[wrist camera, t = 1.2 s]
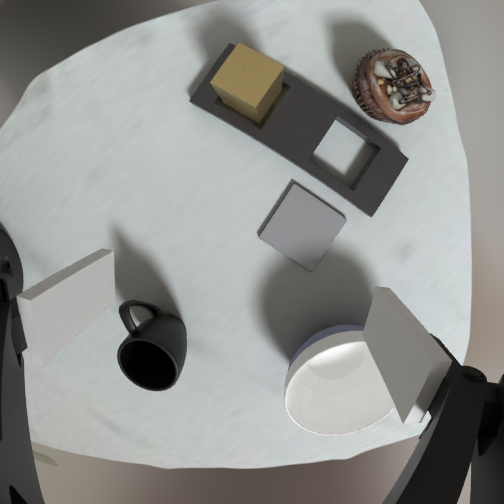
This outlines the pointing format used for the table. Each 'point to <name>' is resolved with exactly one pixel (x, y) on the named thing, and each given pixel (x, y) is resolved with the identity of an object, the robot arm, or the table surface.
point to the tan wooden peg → (249, 82)
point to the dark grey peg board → (312, 136)
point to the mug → (152, 348)
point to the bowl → (336, 384)
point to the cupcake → (392, 87)
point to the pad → (302, 227)
